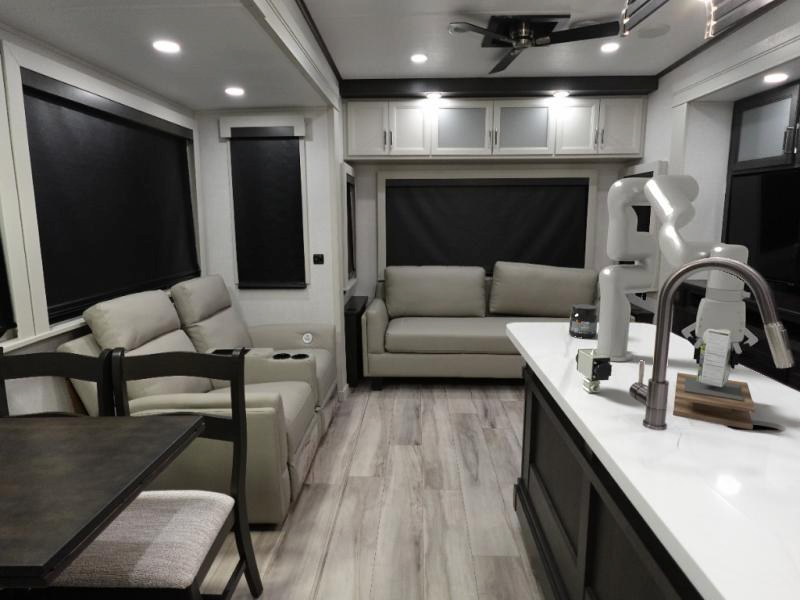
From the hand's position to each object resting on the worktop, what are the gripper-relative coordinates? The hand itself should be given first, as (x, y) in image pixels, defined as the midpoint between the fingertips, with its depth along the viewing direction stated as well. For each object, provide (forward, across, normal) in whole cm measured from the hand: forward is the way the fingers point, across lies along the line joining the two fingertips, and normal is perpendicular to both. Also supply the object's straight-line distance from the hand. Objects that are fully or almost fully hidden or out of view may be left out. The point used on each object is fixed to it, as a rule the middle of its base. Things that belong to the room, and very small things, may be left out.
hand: (714, 364), depth 122 cm
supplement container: (+12, +42, -58) cm, 72 cm away
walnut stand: (+12, 0, 0) cm, 12 cm away
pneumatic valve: (+12, +28, +3) cm, 30 cm away
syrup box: (+5, 0, 0) cm, 5 cm away
